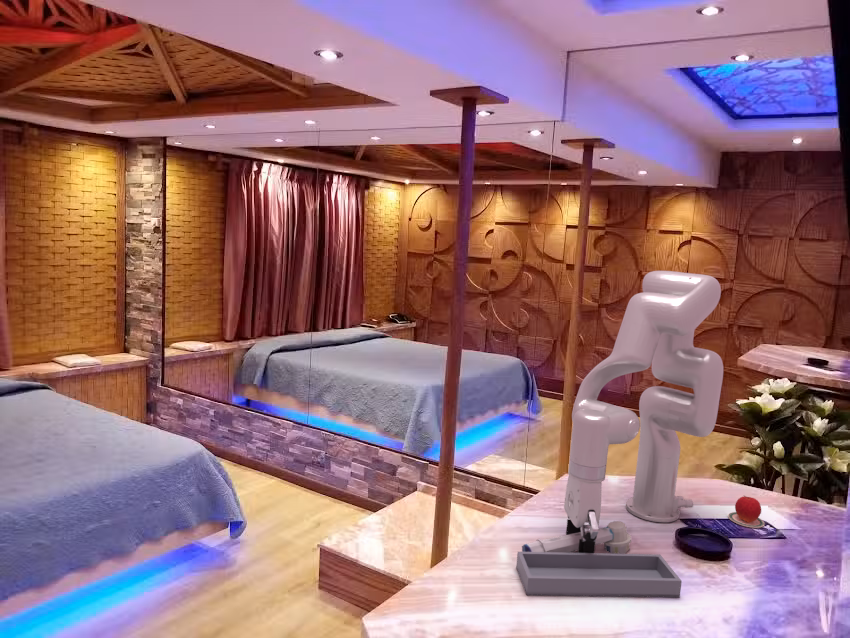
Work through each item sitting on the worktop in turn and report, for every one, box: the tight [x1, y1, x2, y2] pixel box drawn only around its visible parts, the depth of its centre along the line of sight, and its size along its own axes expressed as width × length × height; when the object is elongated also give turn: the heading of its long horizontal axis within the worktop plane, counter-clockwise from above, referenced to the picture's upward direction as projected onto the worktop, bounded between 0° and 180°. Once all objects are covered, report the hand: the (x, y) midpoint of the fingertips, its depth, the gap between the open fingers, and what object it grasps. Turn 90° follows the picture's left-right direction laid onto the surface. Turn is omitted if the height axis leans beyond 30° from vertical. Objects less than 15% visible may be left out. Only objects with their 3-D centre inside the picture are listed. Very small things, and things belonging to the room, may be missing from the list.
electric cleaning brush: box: [521, 520, 632, 554], centre depth 136 cm, size 5×7×25 cm
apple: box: [727, 495, 765, 529], centre depth 156 cm, size 8×8×6 cm
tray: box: [515, 551, 683, 599], centre depth 125 cm, size 30×10×4 cm, turn 94°
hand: (579, 546), depth 136 cm, fingers open, 8 cm apart
